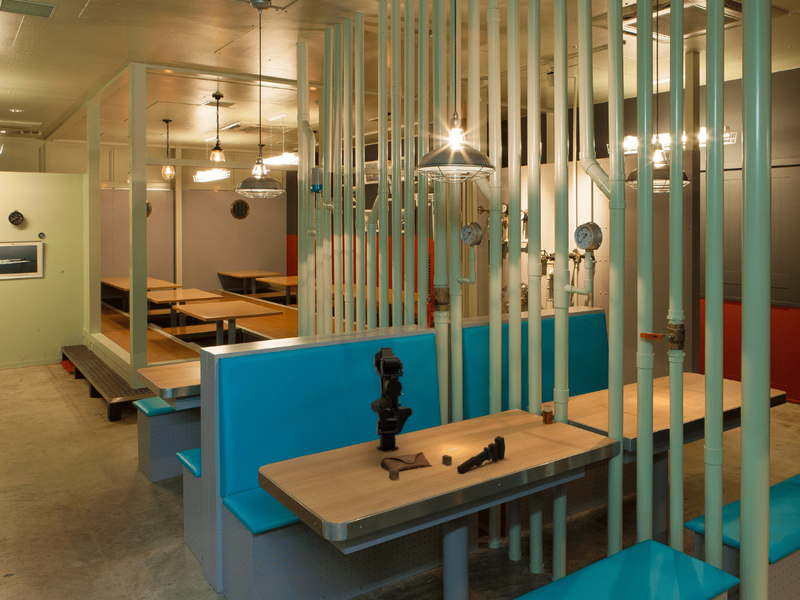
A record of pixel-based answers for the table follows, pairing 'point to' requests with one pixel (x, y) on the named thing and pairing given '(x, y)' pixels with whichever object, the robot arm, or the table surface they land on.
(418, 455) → the sunglasses case
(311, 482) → the table surface
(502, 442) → the adjustable wrench
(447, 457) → the block
